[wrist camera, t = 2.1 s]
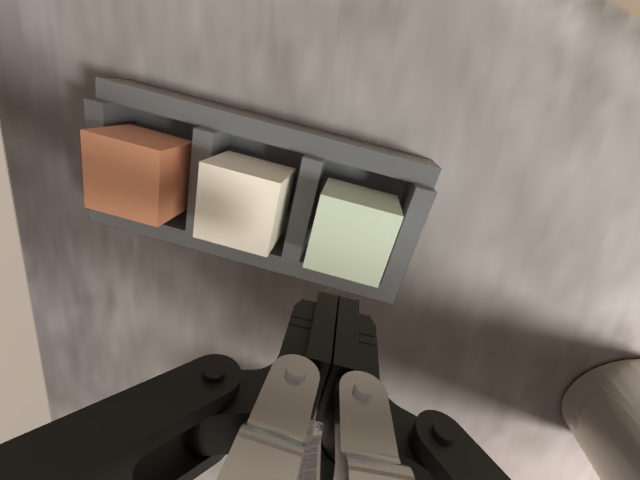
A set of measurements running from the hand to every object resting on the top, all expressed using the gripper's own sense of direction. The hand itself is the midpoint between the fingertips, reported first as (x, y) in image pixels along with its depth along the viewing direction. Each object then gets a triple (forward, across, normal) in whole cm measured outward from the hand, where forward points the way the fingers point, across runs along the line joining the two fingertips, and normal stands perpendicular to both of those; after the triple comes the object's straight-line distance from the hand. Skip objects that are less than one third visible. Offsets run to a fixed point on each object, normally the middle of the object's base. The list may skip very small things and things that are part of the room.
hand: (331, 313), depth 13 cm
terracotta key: (+10, +12, 0) cm, 16 cm away
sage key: (+10, -1, 0) cm, 10 cm away
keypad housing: (+13, +6, 0) cm, 14 cm away
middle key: (+10, +6, 0) cm, 12 cm away
